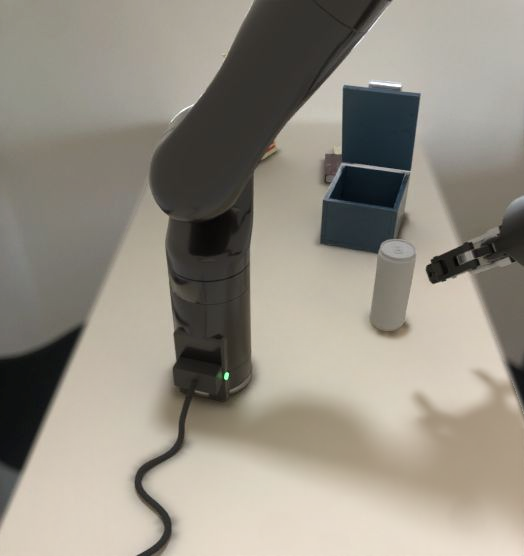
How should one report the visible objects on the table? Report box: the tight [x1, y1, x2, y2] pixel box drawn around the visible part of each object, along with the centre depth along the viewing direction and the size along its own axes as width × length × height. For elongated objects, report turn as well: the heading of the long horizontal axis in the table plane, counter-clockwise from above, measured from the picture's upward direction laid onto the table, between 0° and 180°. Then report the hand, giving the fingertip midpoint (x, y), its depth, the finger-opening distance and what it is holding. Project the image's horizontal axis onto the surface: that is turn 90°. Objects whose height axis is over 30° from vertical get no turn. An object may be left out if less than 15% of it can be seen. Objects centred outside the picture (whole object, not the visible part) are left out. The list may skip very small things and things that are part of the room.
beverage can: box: [369, 238, 417, 332], centre depth 90 cm, size 5×5×12 cm
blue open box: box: [319, 163, 411, 254], centre depth 111 cm, size 14×12×8 cm
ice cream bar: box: [323, 145, 354, 184], centre depth 130 cm, size 5×2×15 cm
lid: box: [341, 79, 422, 172], centre depth 108 cm, size 14×12×5 cm
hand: (461, 264), depth 76 cm, fingers open, 8 cm apart
